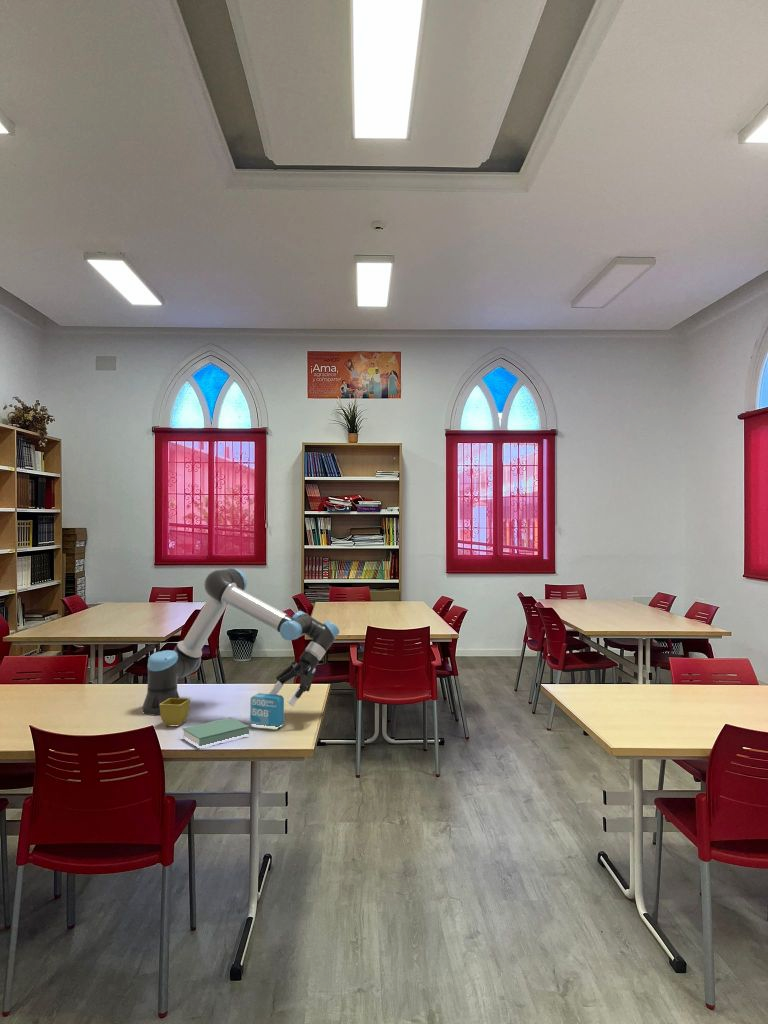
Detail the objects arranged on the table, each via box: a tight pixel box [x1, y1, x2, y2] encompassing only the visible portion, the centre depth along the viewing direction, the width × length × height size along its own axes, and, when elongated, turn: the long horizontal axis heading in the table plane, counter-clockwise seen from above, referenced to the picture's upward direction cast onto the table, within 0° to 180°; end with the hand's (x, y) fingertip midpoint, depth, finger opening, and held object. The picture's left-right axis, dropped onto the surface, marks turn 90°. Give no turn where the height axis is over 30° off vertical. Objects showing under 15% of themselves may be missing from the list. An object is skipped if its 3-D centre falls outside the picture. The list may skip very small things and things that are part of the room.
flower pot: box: [159, 698, 191, 726], centre depth 233 cm, size 9×9×9 cm
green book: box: [182, 717, 250, 746], centre depth 218 cm, size 14×19×4 cm
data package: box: [249, 692, 285, 727], centre depth 230 cm, size 12×4×12 cm, turn 73°
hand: (280, 700), depth 233 cm, fingers open, 13 cm apart
